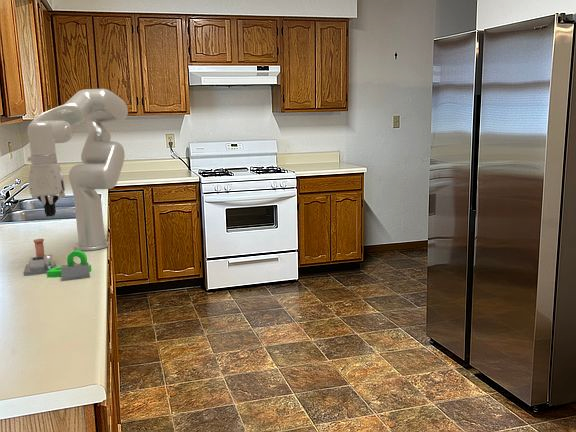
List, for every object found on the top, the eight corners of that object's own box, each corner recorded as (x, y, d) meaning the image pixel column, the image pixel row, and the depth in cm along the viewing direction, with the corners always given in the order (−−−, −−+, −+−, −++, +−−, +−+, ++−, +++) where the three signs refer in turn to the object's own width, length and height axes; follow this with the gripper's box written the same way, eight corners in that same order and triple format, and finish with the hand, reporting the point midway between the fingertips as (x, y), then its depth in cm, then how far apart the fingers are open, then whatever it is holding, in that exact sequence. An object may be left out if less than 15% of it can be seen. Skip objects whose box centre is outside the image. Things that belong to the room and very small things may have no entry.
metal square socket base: (26, 268, 190) (24, 253, 189) (55, 264, 193) (53, 249, 192) (23, 275, 181) (21, 260, 180) (54, 272, 184) (52, 256, 183)
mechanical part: (91, 270, 185) (89, 246, 184) (86, 275, 179) (84, 251, 178) (53, 272, 184) (50, 248, 183) (47, 278, 178) (44, 253, 177)
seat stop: (62, 278, 177) (60, 265, 176) (89, 274, 179) (88, 262, 179) (62, 280, 174) (60, 268, 173) (89, 277, 177) (88, 264, 176)
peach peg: (36, 263, 195) (33, 239, 194) (46, 262, 196) (43, 238, 195) (36, 266, 192) (33, 241, 191) (46, 265, 193) (43, 240, 192)
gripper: (16, 162, 183) (23, 218, 186) (62, 160, 182) (68, 217, 186) (27, 160, 190) (34, 214, 194) (71, 158, 190) (77, 213, 193)
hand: (50, 215), depth 190 cm, fingers closed
